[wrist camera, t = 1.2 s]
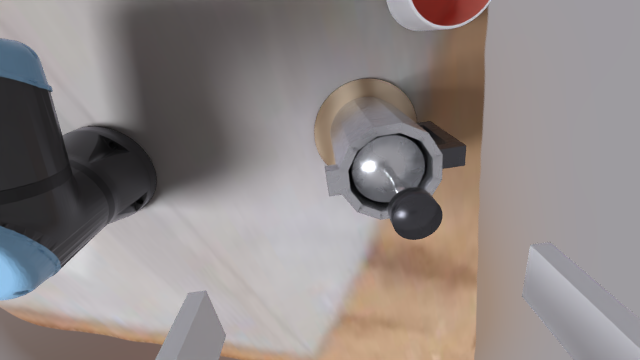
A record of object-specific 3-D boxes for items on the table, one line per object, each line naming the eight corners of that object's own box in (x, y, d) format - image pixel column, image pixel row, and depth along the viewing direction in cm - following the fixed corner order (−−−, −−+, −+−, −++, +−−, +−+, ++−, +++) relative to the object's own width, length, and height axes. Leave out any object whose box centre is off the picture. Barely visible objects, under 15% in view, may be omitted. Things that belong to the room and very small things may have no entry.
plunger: (355, 203, 36) (372, 264, 26) (347, 139, 32) (364, 182, 23) (422, 193, 35) (464, 251, 26) (421, 128, 32) (470, 166, 22)
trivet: (322, 184, 51) (322, 185, 50) (306, 87, 44) (306, 88, 44) (416, 170, 50) (417, 171, 50) (414, 70, 43) (416, 70, 43)
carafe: (326, 171, 49) (334, 226, 35) (316, 104, 45) (319, 135, 30) (423, 156, 49) (471, 206, 34) (422, 87, 44) (478, 110, 29)
